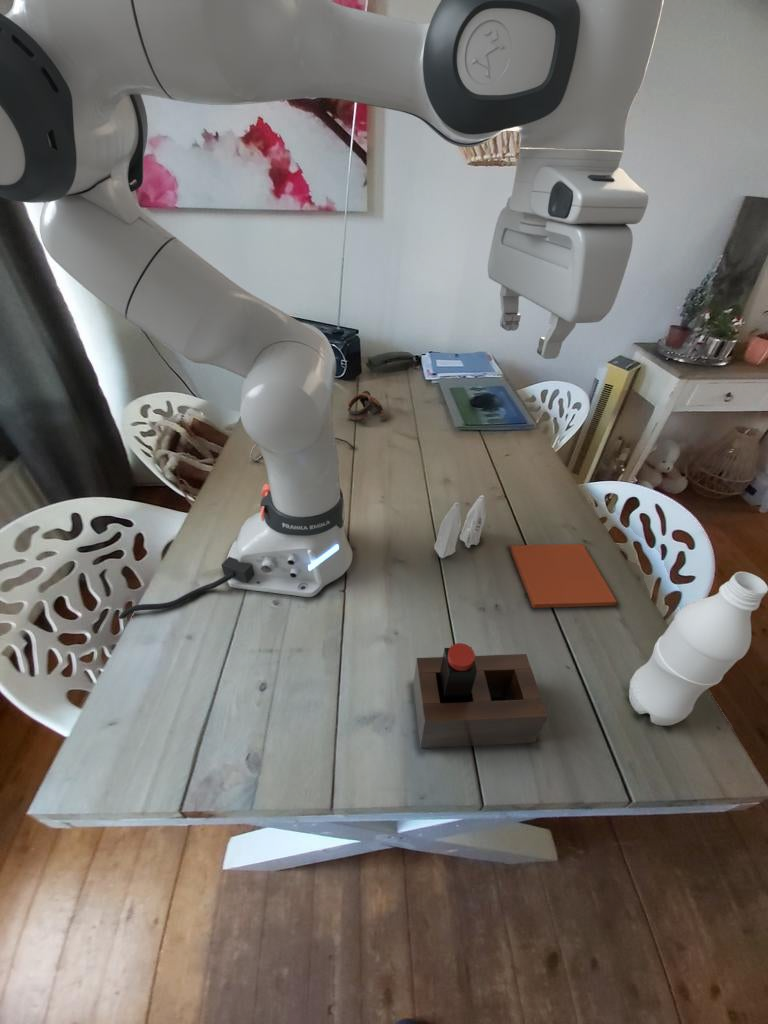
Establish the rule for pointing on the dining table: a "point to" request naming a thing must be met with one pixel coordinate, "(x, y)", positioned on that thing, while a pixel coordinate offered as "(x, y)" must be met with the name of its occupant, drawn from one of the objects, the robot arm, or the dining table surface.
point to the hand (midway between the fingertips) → (526, 341)
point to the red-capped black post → (457, 674)
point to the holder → (480, 704)
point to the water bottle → (697, 650)
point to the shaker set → (452, 527)
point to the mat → (561, 576)
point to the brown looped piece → (365, 406)
